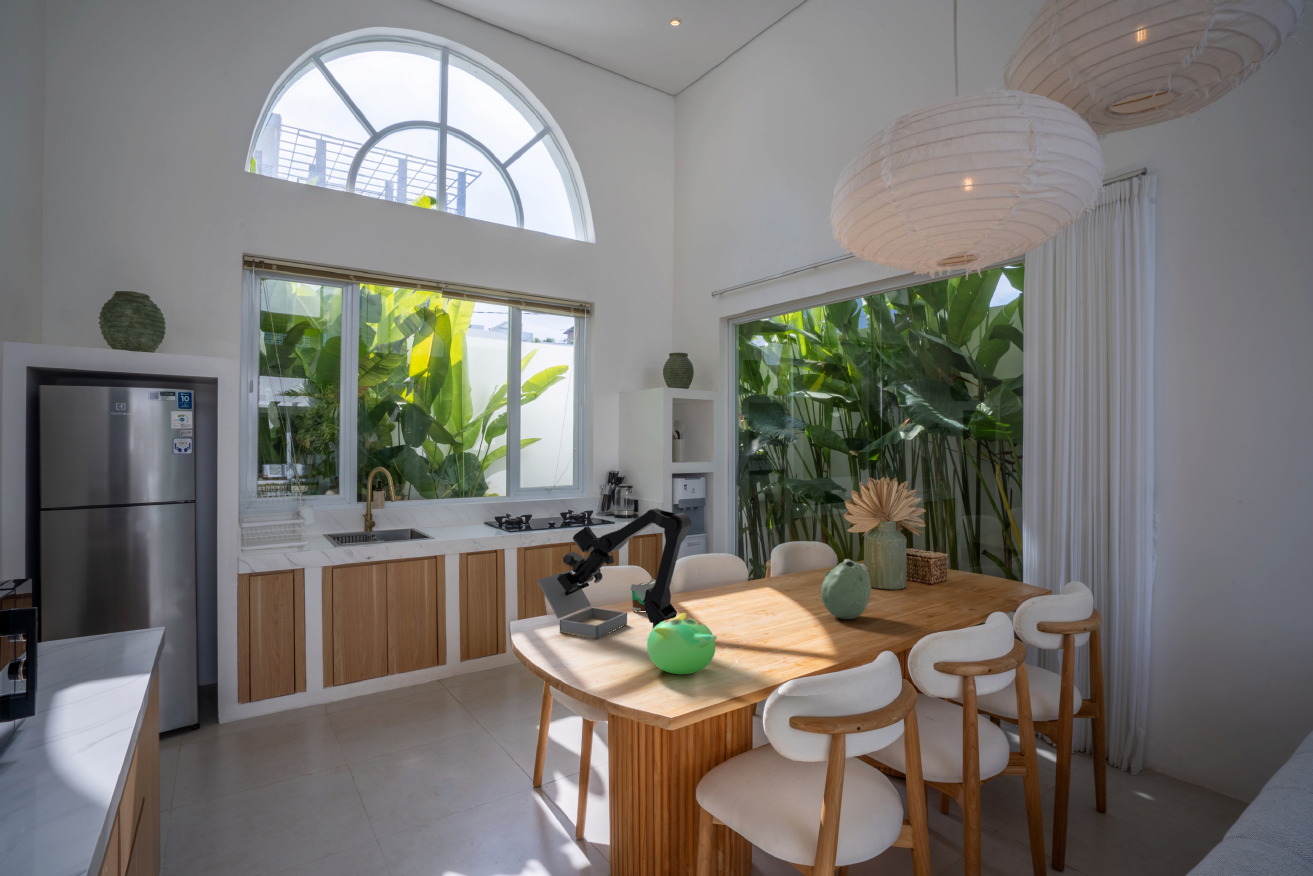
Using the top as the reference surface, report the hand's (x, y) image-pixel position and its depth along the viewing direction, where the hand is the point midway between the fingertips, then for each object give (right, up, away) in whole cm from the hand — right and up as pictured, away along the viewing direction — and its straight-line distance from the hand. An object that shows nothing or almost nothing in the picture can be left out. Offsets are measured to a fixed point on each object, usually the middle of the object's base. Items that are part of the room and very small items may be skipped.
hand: (566, 594), depth 210 cm
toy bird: (+36, -10, -44) cm, 58 cm away
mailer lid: (0, 0, 0) cm, 1 cm away
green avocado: (+95, -11, +9) cm, 96 cm away
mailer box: (+10, -10, -5) cm, 15 cm away
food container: (+27, -10, +17) cm, 34 cm away
